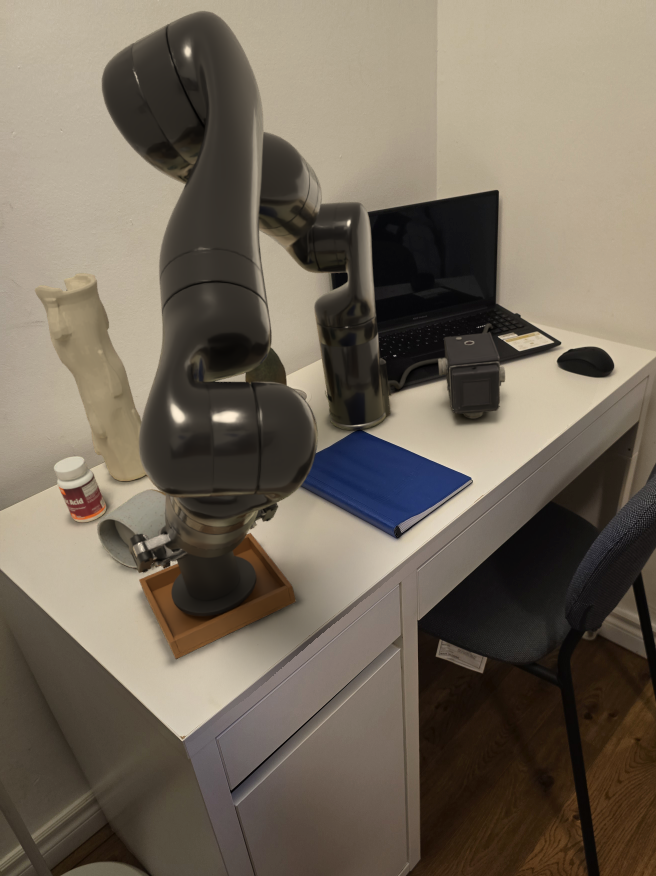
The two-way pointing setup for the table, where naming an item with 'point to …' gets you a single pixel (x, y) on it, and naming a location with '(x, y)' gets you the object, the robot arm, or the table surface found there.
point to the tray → (202, 630)
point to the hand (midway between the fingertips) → (201, 542)
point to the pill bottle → (79, 489)
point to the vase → (95, 371)
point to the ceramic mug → (132, 524)
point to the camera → (472, 374)
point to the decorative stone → (268, 370)
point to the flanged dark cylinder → (212, 584)
